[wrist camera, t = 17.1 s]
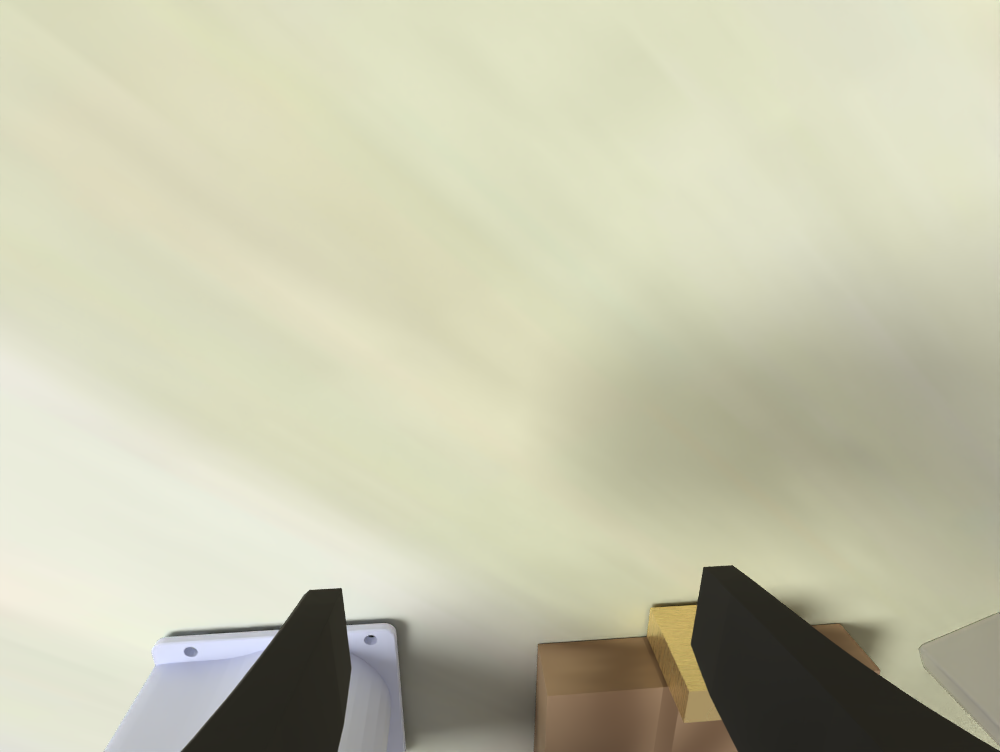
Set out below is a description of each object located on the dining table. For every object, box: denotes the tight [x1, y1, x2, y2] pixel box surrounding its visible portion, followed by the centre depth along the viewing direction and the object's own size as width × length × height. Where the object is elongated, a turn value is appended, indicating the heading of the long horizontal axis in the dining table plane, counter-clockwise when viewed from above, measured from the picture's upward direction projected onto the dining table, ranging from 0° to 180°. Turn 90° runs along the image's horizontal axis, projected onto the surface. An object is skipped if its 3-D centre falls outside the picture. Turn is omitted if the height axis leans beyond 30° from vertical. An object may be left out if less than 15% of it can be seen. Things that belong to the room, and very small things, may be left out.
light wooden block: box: [647, 605, 722, 723], centre depth 22 cm, size 4×6×4 cm
